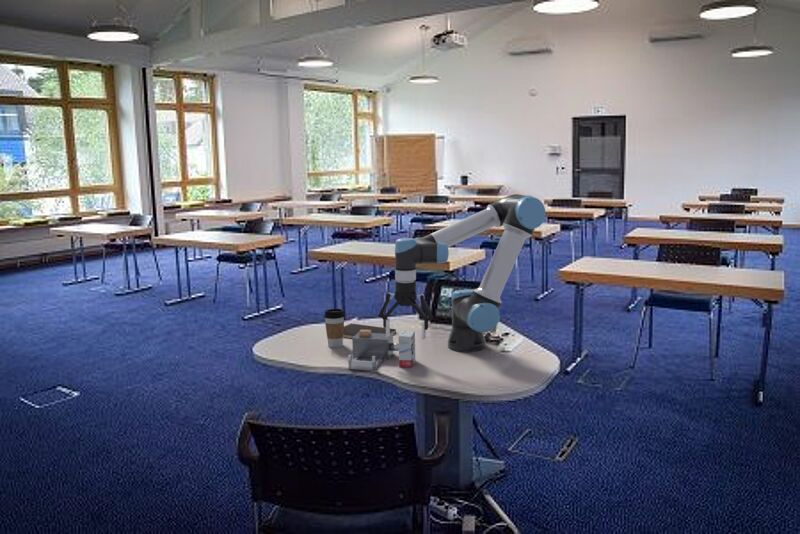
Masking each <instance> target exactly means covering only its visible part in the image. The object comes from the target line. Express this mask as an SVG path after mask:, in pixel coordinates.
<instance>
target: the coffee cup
mask: <svg viewBox="0 0 800 534" xmlns="http://www.w3.org/2000/svg"><path fill="white" fill-rule="evenodd" d="M323 315H324V316H323V318H324V320H325V321H324V323H325V324H324V325H325V331H326V338H327V346H328V347H329V348H334V349H335V348H340V347H341V348H342V347H343V345H344V337H343V331H344V326H345V320H344V318H345V312H344V310H343V309H342V308H330V309H326V310H324V314H323Z"/></svg>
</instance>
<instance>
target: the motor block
mask: <svg viewBox="0 0 800 534" xmlns="http://www.w3.org/2000/svg"><path fill="white" fill-rule="evenodd" d="M351 340H352V343H351V344H352V359H354V358H355V357H356V356H357V355H360V357H361V359H362V360H372V356H376V361H377V360H378V359H379V357H380V356H383V361H389V360H390V359H391V357H392V356H393V355H394V352H399V342H394V334H390V335H389V337H386V334H383V333H371V330H363V329H361V330H360V331H359V332H358V333H357V334H356V335H355V336H354V337H353V338H351ZM361 359H360V360H361Z"/></svg>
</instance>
